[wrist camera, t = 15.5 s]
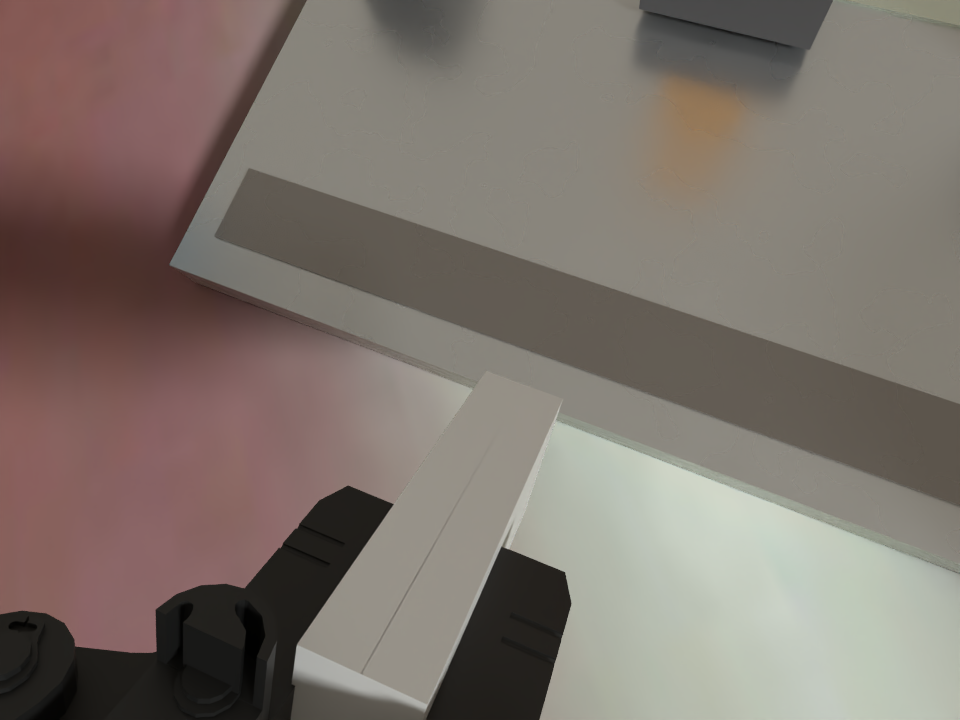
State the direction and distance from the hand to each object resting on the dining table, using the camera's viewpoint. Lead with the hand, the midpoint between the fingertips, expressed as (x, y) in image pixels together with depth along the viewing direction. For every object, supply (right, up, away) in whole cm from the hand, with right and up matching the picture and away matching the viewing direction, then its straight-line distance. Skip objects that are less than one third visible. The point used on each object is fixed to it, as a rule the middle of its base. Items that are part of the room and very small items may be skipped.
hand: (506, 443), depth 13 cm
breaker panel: (+6, +8, +8) cm, 13 cm away
